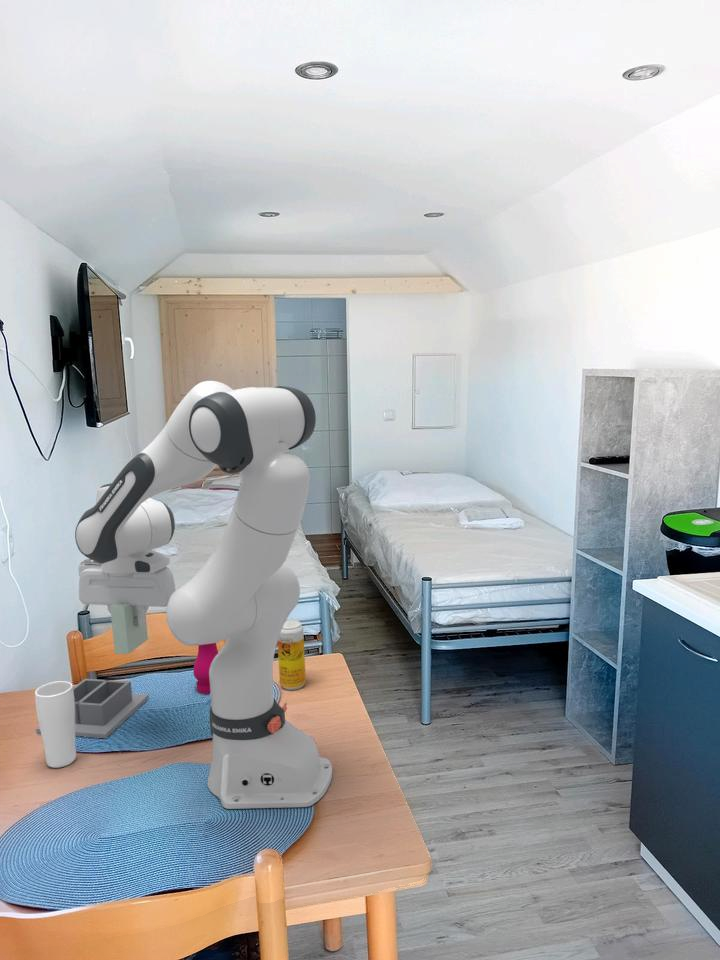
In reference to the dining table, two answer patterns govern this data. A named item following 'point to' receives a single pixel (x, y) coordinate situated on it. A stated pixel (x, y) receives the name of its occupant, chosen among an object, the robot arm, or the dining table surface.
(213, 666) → the robot arm
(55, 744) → the drinking glass
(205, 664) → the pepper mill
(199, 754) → the dining table surface
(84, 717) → the dish rack
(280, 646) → the beer can
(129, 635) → the rectangular block
